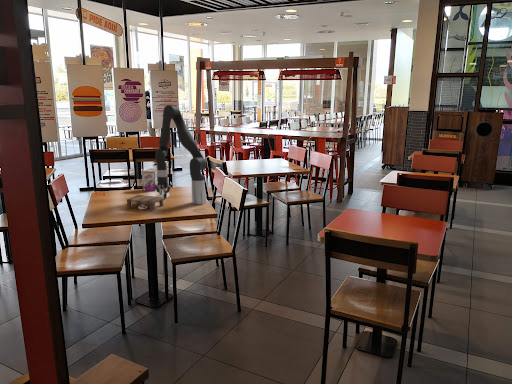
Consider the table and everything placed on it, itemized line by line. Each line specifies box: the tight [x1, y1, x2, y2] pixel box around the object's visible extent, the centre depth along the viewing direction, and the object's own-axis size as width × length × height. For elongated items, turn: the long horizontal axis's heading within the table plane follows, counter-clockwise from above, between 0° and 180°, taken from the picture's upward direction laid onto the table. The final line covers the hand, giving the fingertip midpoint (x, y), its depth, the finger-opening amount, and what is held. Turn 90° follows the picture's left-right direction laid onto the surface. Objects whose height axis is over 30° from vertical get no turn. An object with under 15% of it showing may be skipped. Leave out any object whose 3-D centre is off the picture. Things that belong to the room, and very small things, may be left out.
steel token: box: [137, 204, 148, 210], centre depth 277 cm, size 6×6×2 cm
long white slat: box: [144, 191, 170, 206], centre depth 298 cm, size 8×26×4 cm, turn 163°
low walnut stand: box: [126, 194, 165, 212], centre depth 280 cm, size 20×14×6 cm
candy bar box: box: [141, 169, 158, 192], centre depth 328 cm, size 11×5×16 cm, turn 84°
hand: (163, 198), depth 303 cm, fingers closed on long white slat, 2 cm apart
